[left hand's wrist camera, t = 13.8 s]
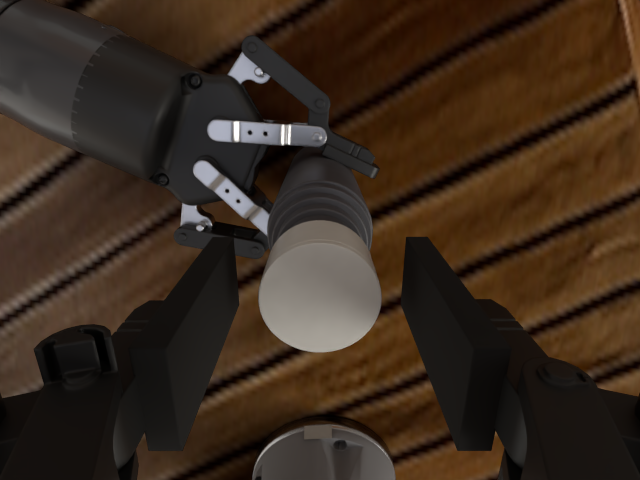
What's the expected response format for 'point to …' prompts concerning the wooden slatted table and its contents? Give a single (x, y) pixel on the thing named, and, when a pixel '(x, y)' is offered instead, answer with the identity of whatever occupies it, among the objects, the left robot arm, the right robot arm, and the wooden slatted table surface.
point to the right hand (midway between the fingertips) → (355, 208)
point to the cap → (319, 287)
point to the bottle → (319, 197)
